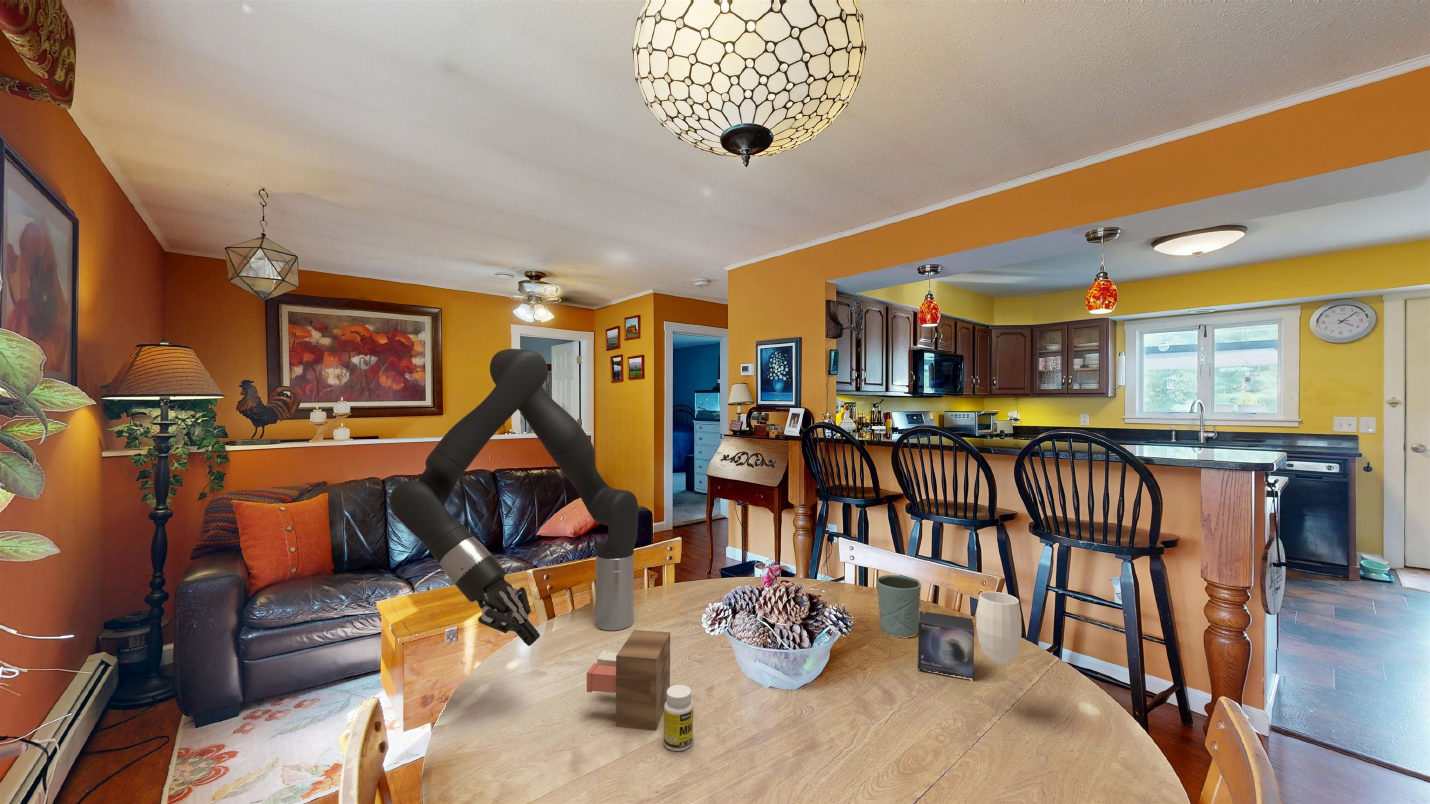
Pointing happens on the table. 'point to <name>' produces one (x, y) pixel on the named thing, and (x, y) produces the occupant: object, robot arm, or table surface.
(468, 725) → the table surface
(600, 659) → the white block
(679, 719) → the supplement bottle
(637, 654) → the walnut box
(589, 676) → the red button
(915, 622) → the green embossed pot
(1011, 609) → the cup
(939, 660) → the small box
